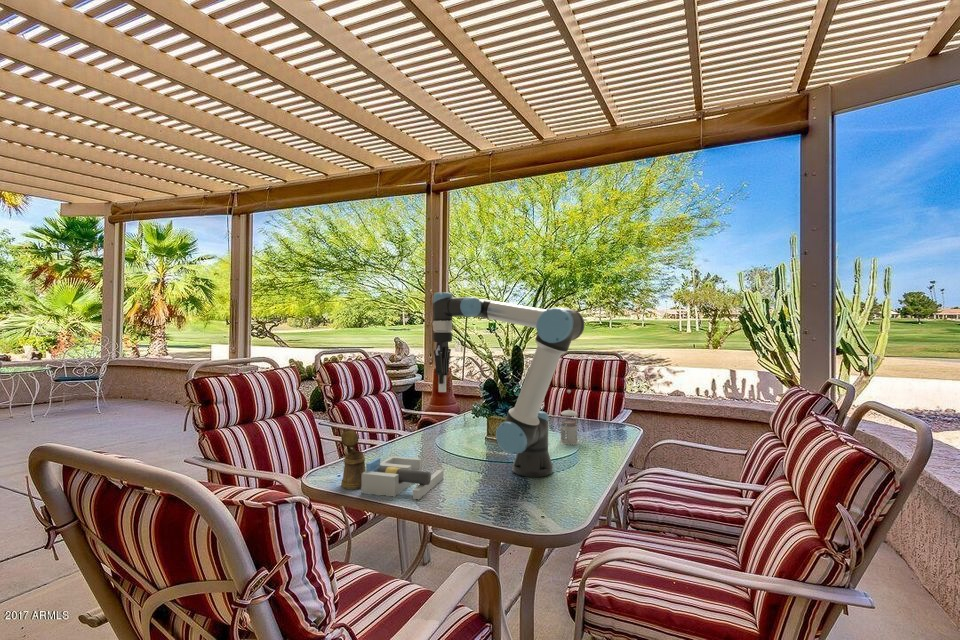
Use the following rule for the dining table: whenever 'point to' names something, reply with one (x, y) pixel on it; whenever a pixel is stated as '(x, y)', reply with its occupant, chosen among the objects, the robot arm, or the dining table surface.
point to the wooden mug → (352, 461)
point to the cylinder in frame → (395, 477)
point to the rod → (408, 475)
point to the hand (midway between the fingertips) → (442, 391)
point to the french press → (569, 428)
